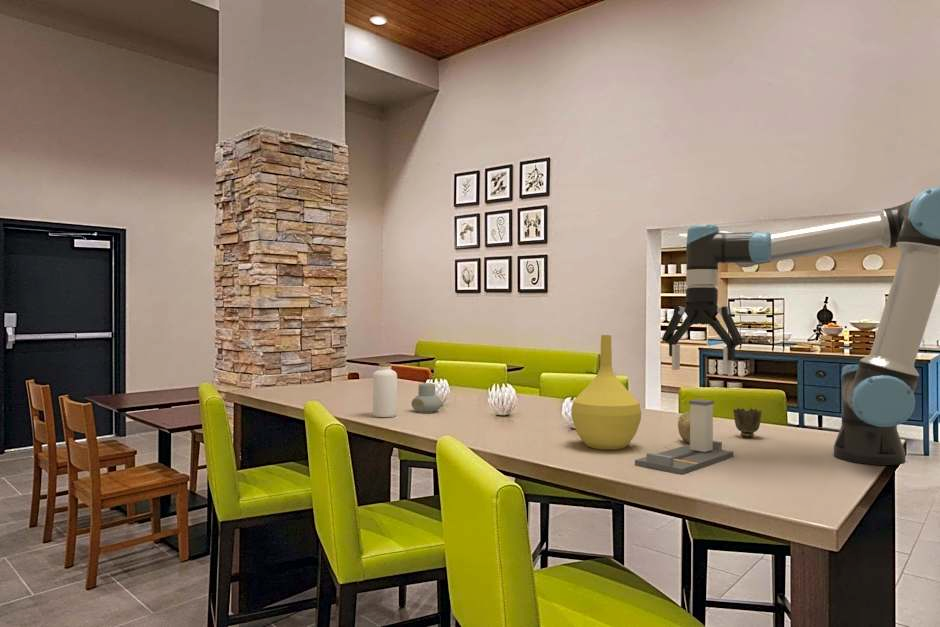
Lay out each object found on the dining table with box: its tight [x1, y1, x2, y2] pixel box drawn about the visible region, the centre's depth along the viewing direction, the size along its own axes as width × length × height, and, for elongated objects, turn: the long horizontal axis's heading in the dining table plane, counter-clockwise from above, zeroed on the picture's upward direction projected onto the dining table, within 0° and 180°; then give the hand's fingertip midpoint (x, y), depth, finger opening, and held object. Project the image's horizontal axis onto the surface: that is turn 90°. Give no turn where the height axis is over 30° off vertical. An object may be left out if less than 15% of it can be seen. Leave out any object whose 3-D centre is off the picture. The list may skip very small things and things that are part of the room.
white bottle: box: [372, 362, 398, 418], centre depth 222 cm, size 8×8×18 cm
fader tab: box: [688, 398, 715, 452], centre depth 163 cm, size 4×4×12 cm
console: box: [634, 440, 734, 475], centre depth 157 cm, size 26×12×3 cm, turn 134°
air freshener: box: [411, 382, 443, 413], centre depth 232 cm, size 11×8×10 cm
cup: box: [733, 407, 763, 439], centre depth 186 cm, size 8×7×8 cm
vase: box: [570, 334, 642, 451], centre depth 174 cm, size 18×18×30 cm
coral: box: [677, 410, 690, 444], centre depth 179 cm, size 10×10×10 cm
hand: (700, 371), depth 163 cm, fingers open, 13 cm apart
